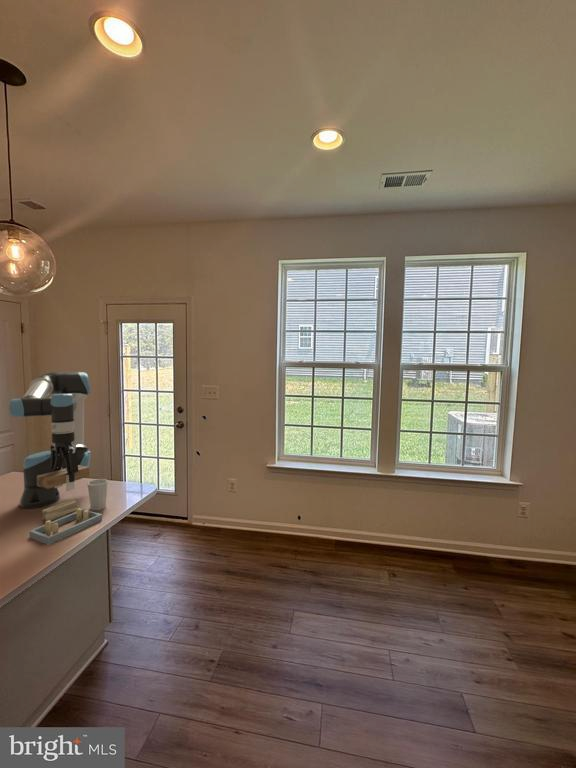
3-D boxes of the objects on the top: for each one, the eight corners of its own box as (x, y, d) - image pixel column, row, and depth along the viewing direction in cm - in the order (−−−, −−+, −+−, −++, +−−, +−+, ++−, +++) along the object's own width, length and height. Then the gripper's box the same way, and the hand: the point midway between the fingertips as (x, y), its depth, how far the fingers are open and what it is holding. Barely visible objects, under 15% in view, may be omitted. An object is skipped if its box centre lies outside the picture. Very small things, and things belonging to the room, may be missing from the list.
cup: (93, 503, 153) (93, 478, 153) (111, 503, 154) (110, 478, 153) (84, 511, 145) (83, 485, 145) (103, 510, 146) (102, 484, 145)
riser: (42, 519, 137) (42, 510, 137) (71, 508, 148) (71, 499, 148) (48, 521, 136) (48, 512, 136) (76, 509, 147) (76, 501, 146)
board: (37, 486, 125) (36, 475, 125) (78, 474, 139) (78, 465, 139) (47, 488, 122) (47, 478, 122) (89, 476, 136) (89, 467, 136)
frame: (29, 537, 123) (29, 524, 123) (83, 514, 143) (83, 503, 142) (48, 544, 118) (48, 531, 118) (102, 520, 138) (101, 508, 137)
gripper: (38, 431, 131) (39, 487, 132) (68, 435, 122) (70, 495, 123) (58, 428, 138) (59, 482, 138) (88, 432, 129) (89, 489, 130)
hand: (64, 488), depth 131 cm, fingers closed on board, 7 cm apart
